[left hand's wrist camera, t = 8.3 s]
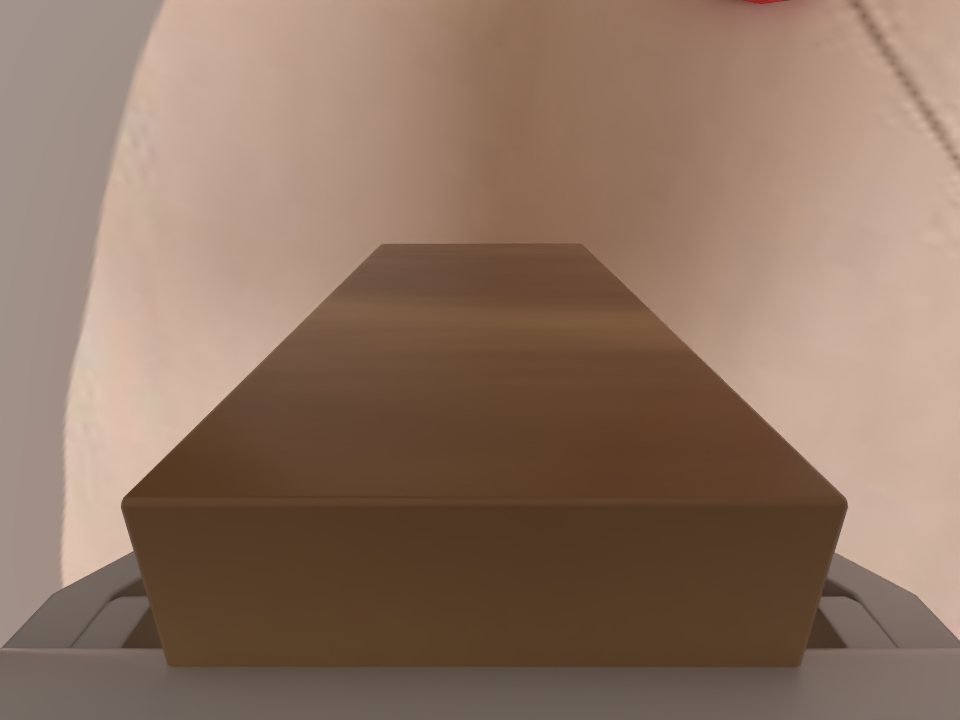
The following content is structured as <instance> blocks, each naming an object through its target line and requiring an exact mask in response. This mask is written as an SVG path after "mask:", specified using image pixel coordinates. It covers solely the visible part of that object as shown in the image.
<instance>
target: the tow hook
mask: <svg viewBox="0 0 960 720" xmlns="http://www.w3.org/2000/svg"><path fill="white" fill-rule="evenodd" d="M745 1H750V2H755V3H760V4H763V3H771V2H779V1H787V0H745Z"/></svg>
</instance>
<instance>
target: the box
mask: <svg viewBox="0 0 960 720" xmlns="http://www.w3.org/2000/svg"><path fill="white" fill-rule="evenodd" d="M847 508H848V505H847V500H846V498H845V497H844V496H843V495H842V494H841V493H840V492H839V491H838V490H837V489H836V488H835V487H834V486H833V485H832V484H831V483H830V482H829V481H827V480H826V479H825V478H824V477H823V476H822V475H821V474H820V473H819V472H818V471H817V470H816V469H815V468H814V467H813V466H812V465H811V464H810V463H809V462H808V461H807V460H806V459H805V458H804V457H803V456H802V455H800V454H799V453H798V452H797V451H796V450H795V449H794V448H793V447H792V446H791V445H790V444H789V443H788V442H787V441H786V440H785V439H784V438H783V437H782V436H781V435H780V434H779V433H778V432H777V431H776V430H774V429H773V428H772V427H771V426H770V425H769V424H768V423H767V422H766V421H765V420H764V419H763V418H762V417H761V416H760V415H759V414H758V413H757V412H756V411H755V410H754V409H753V408H752V407H751V406H750V405H749V404H747V403H746V402H745V401H744V400H743V399H742V398H741V397H740V396H739V395H738V394H737V393H736V392H735V391H734V390H733V389H732V388H731V387H730V386H729V385H728V384H727V383H726V382H725V381H724V380H723V379H721V378H720V377H719V376H718V375H717V374H716V373H715V372H714V371H713V370H712V369H711V368H710V367H709V366H708V365H707V364H706V363H705V362H704V361H703V360H702V359H701V358H700V357H699V356H698V355H697V354H696V353H694V352H693V351H692V350H691V349H690V348H689V347H688V346H687V345H686V344H685V343H684V342H683V341H682V340H681V339H680V338H679V337H678V336H677V335H676V334H675V333H674V332H673V331H672V330H671V329H670V328H668V327H667V326H666V325H665V324H664V323H663V322H662V321H661V320H660V319H659V318H658V317H657V316H656V315H655V314H654V313H653V312H652V311H651V310H650V309H649V308H648V307H647V306H646V305H645V304H644V303H642V302H641V301H640V300H639V299H638V298H637V297H636V296H635V295H634V294H633V293H632V292H631V291H630V290H629V289H628V288H627V287H626V286H625V285H624V284H623V283H622V282H621V281H620V280H619V279H618V278H617V277H615V276H614V275H613V274H612V273H611V272H610V271H609V270H608V269H607V268H606V267H605V266H604V265H603V264H602V263H601V262H600V261H599V260H598V259H597V258H596V257H595V256H594V255H593V254H592V253H591V252H589V251H588V250H587V249H586V248H585V247H584V246H583V245H582V244H382V245H380V246H379V247H378V248H377V249H376V250H375V251H374V252H373V253H372V254H371V255H370V256H369V257H368V258H367V259H366V260H365V261H364V262H363V263H362V264H361V265H360V266H359V267H358V268H357V269H356V270H355V271H354V272H353V273H352V274H351V275H350V276H349V277H348V278H347V279H346V280H345V281H344V282H343V283H342V284H341V285H340V286H339V287H338V288H336V289H335V290H334V291H333V292H332V293H331V294H330V295H329V296H328V297H327V298H326V299H325V300H324V301H323V302H322V303H321V304H320V305H319V306H318V307H317V308H316V309H315V310H314V311H313V312H312V313H311V314H310V315H309V316H308V317H307V318H306V319H305V320H304V321H303V322H302V323H301V324H300V325H299V326H298V327H297V328H296V329H295V330H294V331H293V332H292V333H291V334H290V335H289V336H288V337H287V338H286V339H285V340H284V341H283V342H282V343H281V344H280V345H279V346H278V347H276V348H275V349H274V350H273V351H272V352H271V353H270V354H269V355H268V356H267V357H266V358H265V359H264V360H263V361H262V362H261V363H260V364H259V365H258V366H257V367H256V368H255V369H254V370H253V371H252V372H251V373H250V374H249V375H248V376H247V377H246V378H245V379H244V380H243V381H242V382H241V383H240V384H239V385H238V386H237V387H236V388H235V389H234V390H233V391H232V392H231V393H230V394H229V395H228V396H227V397H226V398H225V399H224V400H223V401H222V402H221V403H220V404H219V405H217V406H216V407H215V408H214V409H213V410H212V411H211V412H210V413H209V414H208V415H207V416H206V417H205V418H204V419H203V420H202V421H201V422H200V423H199V424H198V425H197V426H196V427H195V428H194V429H193V430H192V431H191V432H190V433H189V434H188V435H187V436H186V437H185V438H184V439H183V440H182V441H181V442H180V443H179V444H178V445H177V446H176V447H175V448H174V449H173V450H172V451H171V452H170V453H169V454H168V455H167V456H166V457H165V458H164V459H163V460H162V461H161V462H160V463H159V464H157V465H156V466H155V467H154V468H153V469H152V470H151V471H150V472H149V473H148V474H147V475H146V476H145V477H144V478H143V479H142V480H141V481H140V482H139V483H138V484H137V485H136V486H135V487H134V488H133V489H132V490H131V491H130V492H129V493H128V494H127V495H126V496H125V497H124V498H123V500H122V503H121V509H122V513H123V516H124V519H125V523H126V526H127V529H128V533H129V536H130V540H131V543H132V546H133V550H134V553H135V557H136V560H137V563H138V567H139V570H140V573H141V577H142V580H143V584H144V587H145V590H146V594H147V597H148V600H149V604H150V607H151V611H152V614H153V617H154V621H155V624H156V628H157V631H158V634H159V638H160V641H161V644H162V648H163V651H164V655H165V658H166V661H167V665H169V666H171V667H798V666H800V665H801V662H802V659H803V655H804V652H805V648H806V645H807V642H808V638H809V635H810V632H811V628H812V625H813V622H814V618H815V615H816V612H817V608H818V605H819V602H820V598H821V595H822V592H823V588H824V585H825V582H826V578H827V575H828V572H829V568H830V565H831V562H832V558H833V555H834V552H835V548H836V545H837V542H838V538H839V535H840V532H841V528H842V525H843V522H844V518H845V515H846V512H847Z"/></svg>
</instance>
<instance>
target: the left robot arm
mask: <svg viewBox="0 0 960 720" xmlns="http://www.w3.org/2000/svg"><path fill="white" fill-rule="evenodd" d="M0 720H960V641H959V640H958V639H957V637H956V636H955V635H954V634H953V633H952V632H951V631H950V630H949V629H948V628H947V627H946V626H945V625H944V624H943V623H942V622H941V621H940V620H939V619H938V618H937V617H936V616H935V615H934V614H933V613H932V611H931V610H930V609H929V608H928V607H927V606H926V605H925V604H924V603H923V602H922V601H921V600H920V599H919V598H918V597H917V596H916V595H915V594H913V593H911V592H909V591H907V590H905V589H903V588H901V587H899V586H898V585H896V584H894V583H892V582H890V581H888V580H886V579H884V578H882V577H880V576H879V575H877V574H875V573H873V572H871V571H869V570H867V569H865V568H863V567H861V566H860V565H858V564H856V563H854V562H852V561H850V560H848V559H846V558H844V557H842V556H841V555H839V554H837V553H835V552H834V555H833V558H832V562H831V565H830V568H829V572H828V575H827V578H826V582H825V585H824V588H823V592H822V595H821V598H820V602H819V605H818V608H817V612H816V615H815V618H814V622H813V625H812V628H811V632H810V635H809V638H808V642H807V645H806V648H805V652H804V655H803V659H802V662H801V665H800V666H798V667H171V666H169V665H167V661H166V658H165V655H164V651H163V648H162V644H161V641H160V638H159V634H158V631H157V628H156V624H155V621H154V617H153V614H152V611H151V607H150V604H149V600H148V597H147V594H146V590H145V587H144V584H143V580H142V577H141V573H140V570H139V567H138V563H137V560H136V557H135V553H134V551H133V552H131V553H129V554H128V555H126V556H124V557H122V558H120V559H118V560H116V561H114V562H112V563H111V564H109V565H107V566H105V567H103V568H101V569H99V570H97V571H95V572H94V573H92V574H90V575H88V576H86V577H84V578H82V579H80V580H78V581H77V582H75V583H73V584H71V585H69V586H67V587H65V588H63V589H62V590H60V591H58V592H56V593H54V594H52V595H51V597H50V598H49V599H48V600H47V601H46V602H45V603H44V604H43V605H42V606H41V607H40V608H39V609H38V610H37V611H36V612H35V613H34V614H33V615H32V616H31V617H30V619H29V620H28V621H27V622H26V623H25V624H24V625H23V626H22V627H21V628H20V629H19V630H18V631H17V632H16V633H15V634H14V635H13V636H12V637H11V639H10V640H9V641H8V642H7V643H6V644H5V645H4V646H3V647H2V648H0Z"/></svg>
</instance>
